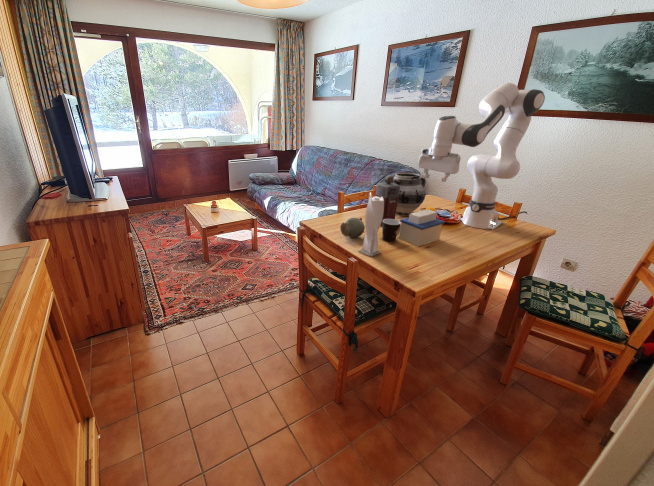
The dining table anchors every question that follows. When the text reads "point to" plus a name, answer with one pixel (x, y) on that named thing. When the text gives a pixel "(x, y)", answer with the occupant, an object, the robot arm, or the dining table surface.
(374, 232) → the skyscraper
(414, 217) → the case
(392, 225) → the coffee mug
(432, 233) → the container
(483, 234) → the dining table surface
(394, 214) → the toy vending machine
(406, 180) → the ceramic pot
